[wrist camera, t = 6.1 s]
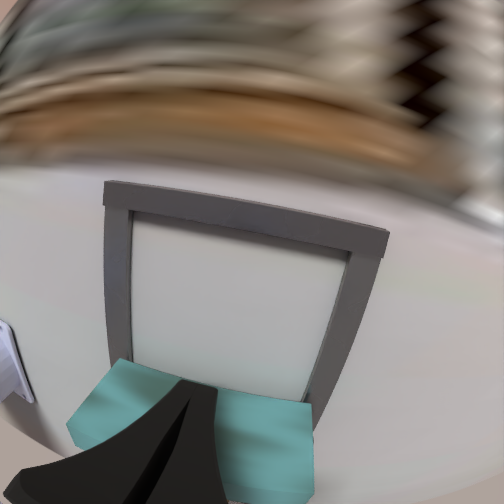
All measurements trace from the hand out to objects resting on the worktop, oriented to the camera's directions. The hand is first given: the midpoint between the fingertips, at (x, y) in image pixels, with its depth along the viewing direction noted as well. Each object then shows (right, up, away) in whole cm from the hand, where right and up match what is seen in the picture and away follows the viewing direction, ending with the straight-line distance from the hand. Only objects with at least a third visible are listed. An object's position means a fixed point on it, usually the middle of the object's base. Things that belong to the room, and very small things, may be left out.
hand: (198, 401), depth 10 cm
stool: (-1, -7, +5) cm, 8 cm away
